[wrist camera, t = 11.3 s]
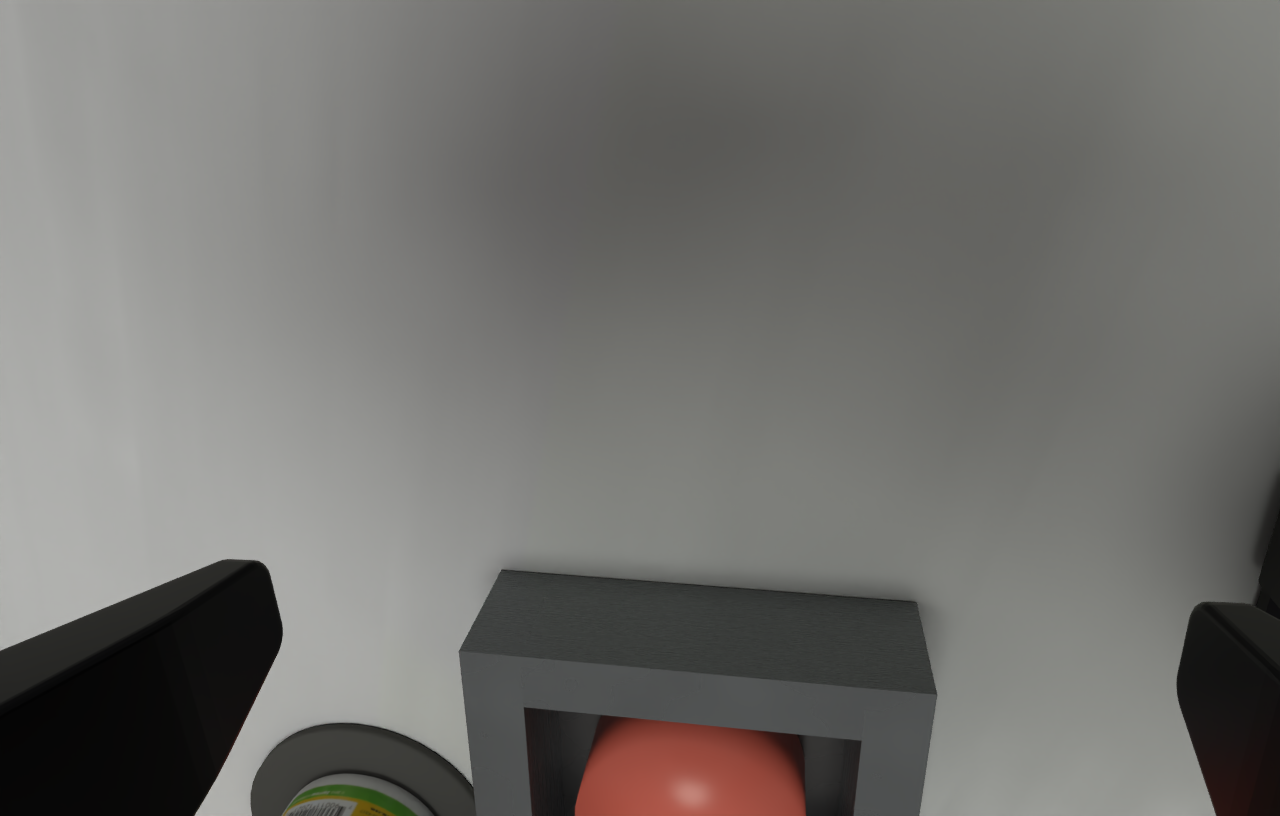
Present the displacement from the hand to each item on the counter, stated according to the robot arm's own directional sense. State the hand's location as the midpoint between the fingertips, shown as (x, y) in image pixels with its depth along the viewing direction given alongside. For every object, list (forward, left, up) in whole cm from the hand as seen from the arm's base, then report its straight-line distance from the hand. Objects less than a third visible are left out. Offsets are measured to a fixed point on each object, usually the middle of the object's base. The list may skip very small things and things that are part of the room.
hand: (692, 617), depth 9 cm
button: (+1, +14, -12) cm, 19 cm away
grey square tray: (+1, +14, -13) cm, 19 cm away
